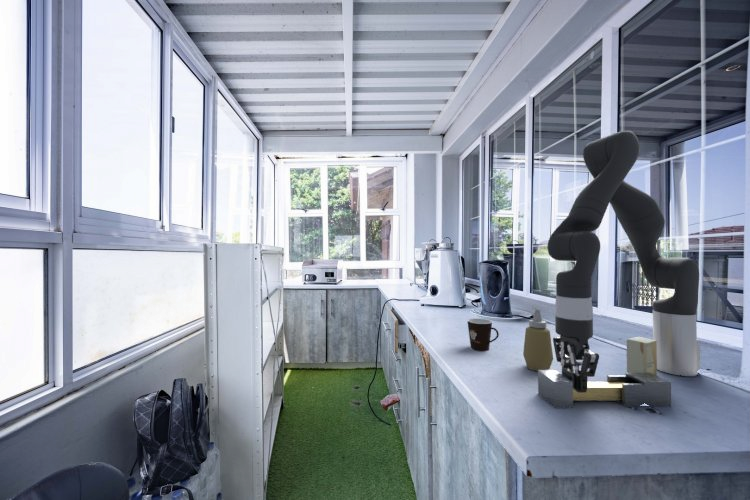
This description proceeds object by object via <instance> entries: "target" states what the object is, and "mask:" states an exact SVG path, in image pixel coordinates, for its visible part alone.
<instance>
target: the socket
mask: <svg viewBox="0 0 750 500" xmlns="http://www.w3.org/2000/svg"><path fill="white" fill-rule="evenodd" d="M537 393H538V395H539V396H540V397H541V398H542V399H543V400H544V401H546V403H548V404H549V405H550V406H551V407H552V408H553V409H573V408H574V400H573V382H572V381H571V380H569V379H568V378H566V377H565V376H563V375H562V373H560V372H559V371H557V370H556V369H549V370H538V371H537Z"/></svg>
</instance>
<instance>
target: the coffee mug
mask: <svg viewBox="0 0 750 500" xmlns="http://www.w3.org/2000/svg"><path fill="white" fill-rule="evenodd" d="M466 320H467V328H468V336H469V343H470V344H469V345H470V349H471V350H474V351H478V352H487V351H489V350H490V346H491V345H490V344H491V343H493V342H495V341H496V340H497V339H498V338H499V335H500V333H499V330H498V329H497V328H496V327H492V326H493V325H492V324H493V320H490V319H486V318H470V319H466ZM492 330H493V331H494V332H495V333H496V336H495V337H494V338H493V339H491V337H492V336H491V335H492Z"/></svg>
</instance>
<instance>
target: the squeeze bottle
mask: <svg viewBox="0 0 750 500" xmlns="http://www.w3.org/2000/svg"><path fill="white" fill-rule="evenodd" d="M523 343H524V345H523V354H522V355H523V358H524V361H525V364H526V366H527V368H528V369H529V370H532V371H536V372H538V370H551V366H552V363H553V362H554V361H553V360H554V354H553V353H554V351H553V345H552V337H551V330H550V329H549V328H547V321H545V320H543V318H542V313H541V310H540V308H535V309H534V313H533V317H532V319H529V320H528V327H526V328H525V334H524V342H523Z"/></svg>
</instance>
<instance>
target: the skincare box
mask: <svg viewBox="0 0 750 500" xmlns="http://www.w3.org/2000/svg"><path fill="white" fill-rule="evenodd" d="M626 373H652V374H654V375H656V376H658V369H657V340H653V338H652V339H651V338H647V337H644V336H643V337H642V336H635V337H631V338H626Z"/></svg>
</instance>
